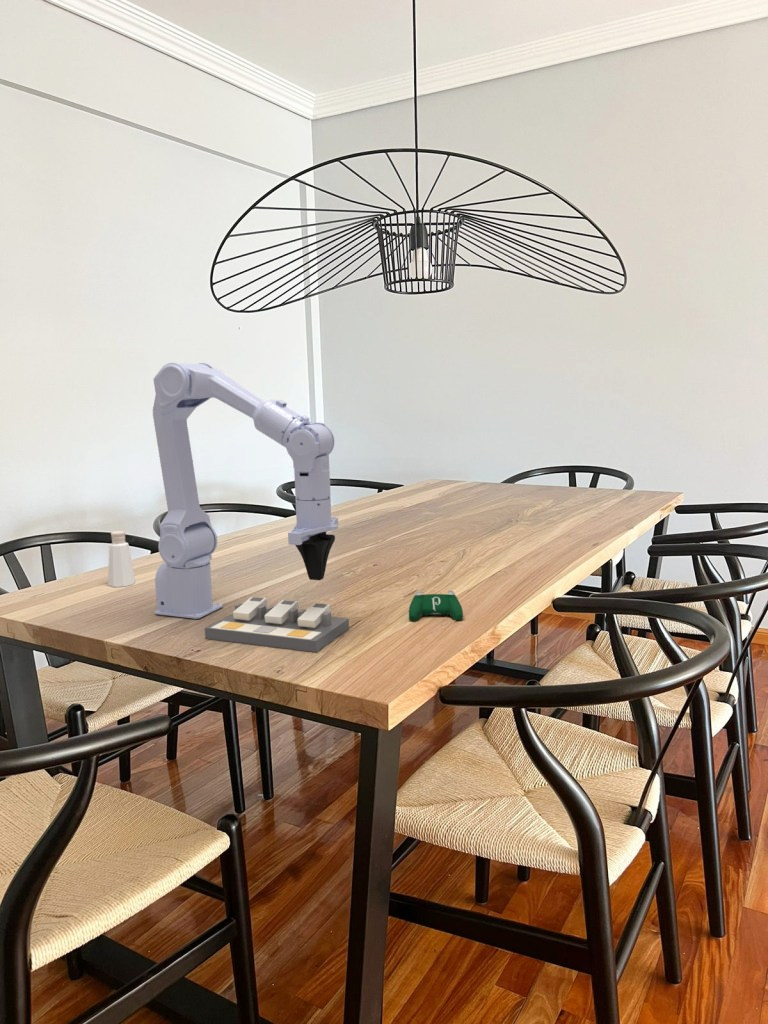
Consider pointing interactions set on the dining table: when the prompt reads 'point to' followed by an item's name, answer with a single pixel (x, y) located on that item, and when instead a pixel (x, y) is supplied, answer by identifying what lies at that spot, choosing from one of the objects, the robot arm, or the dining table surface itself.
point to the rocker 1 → (249, 608)
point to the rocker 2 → (281, 611)
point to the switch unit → (278, 631)
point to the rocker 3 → (313, 615)
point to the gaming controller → (435, 605)
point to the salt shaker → (120, 562)
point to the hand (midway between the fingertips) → (316, 579)
